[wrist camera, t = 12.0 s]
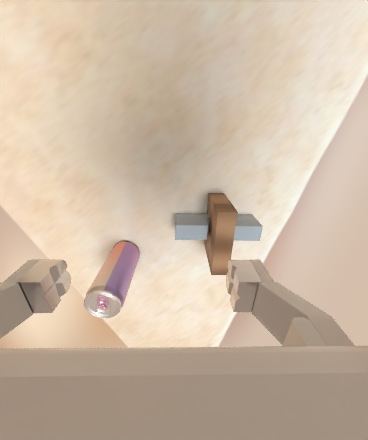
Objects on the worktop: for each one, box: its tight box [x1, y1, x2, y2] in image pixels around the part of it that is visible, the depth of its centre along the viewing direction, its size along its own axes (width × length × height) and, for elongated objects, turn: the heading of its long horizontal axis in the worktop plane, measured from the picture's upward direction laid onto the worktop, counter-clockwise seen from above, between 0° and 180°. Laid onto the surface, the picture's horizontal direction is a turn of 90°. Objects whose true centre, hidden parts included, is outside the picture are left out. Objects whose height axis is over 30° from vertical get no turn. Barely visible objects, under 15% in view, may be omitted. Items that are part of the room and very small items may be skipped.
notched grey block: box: [175, 213, 263, 241], centre depth 38 cm, size 3×16×6 cm, turn 89°
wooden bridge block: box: [205, 193, 238, 275], centre depth 36 cm, size 12×3×10 cm, turn 179°
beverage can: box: [84, 242, 140, 318], centre depth 36 cm, size 6×6×15 cm
